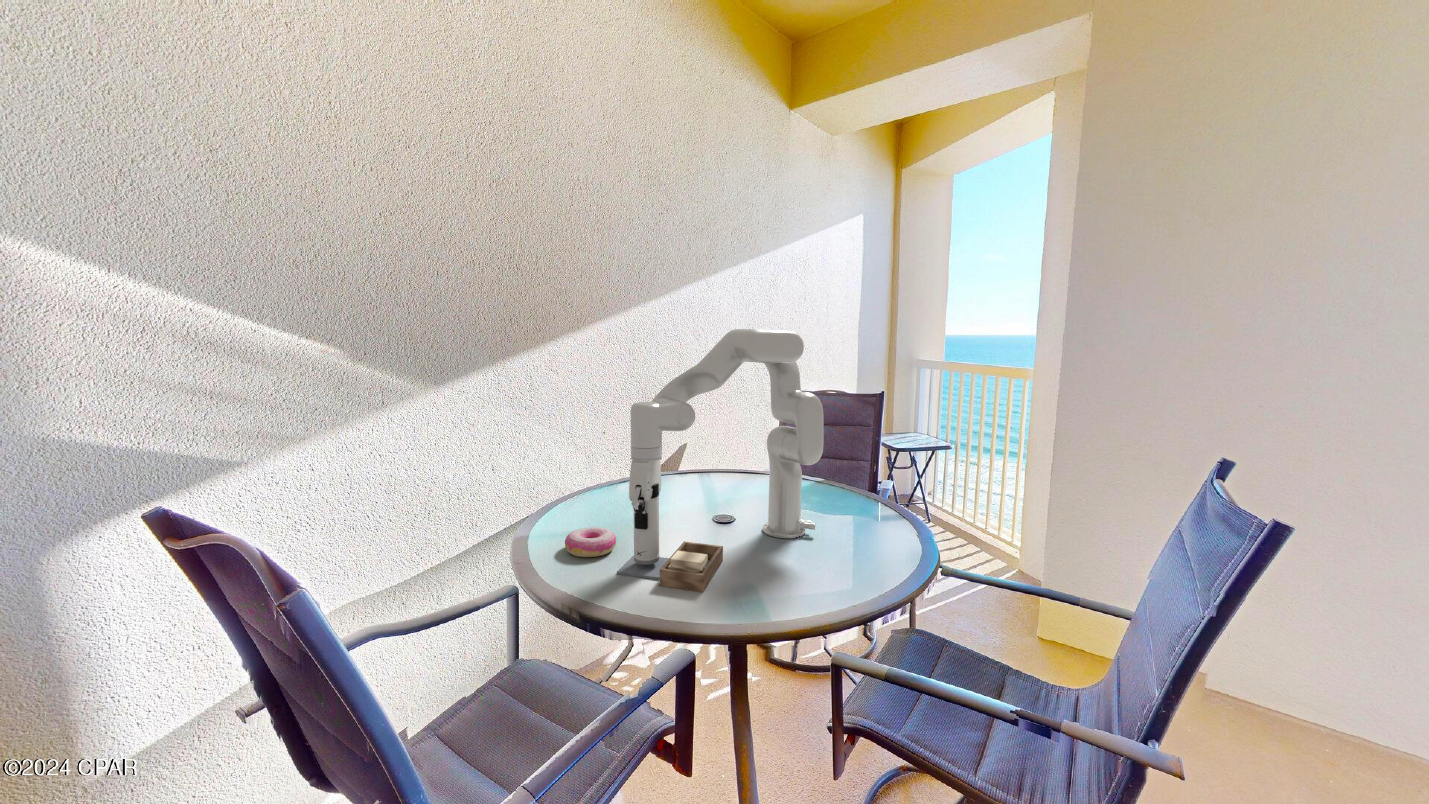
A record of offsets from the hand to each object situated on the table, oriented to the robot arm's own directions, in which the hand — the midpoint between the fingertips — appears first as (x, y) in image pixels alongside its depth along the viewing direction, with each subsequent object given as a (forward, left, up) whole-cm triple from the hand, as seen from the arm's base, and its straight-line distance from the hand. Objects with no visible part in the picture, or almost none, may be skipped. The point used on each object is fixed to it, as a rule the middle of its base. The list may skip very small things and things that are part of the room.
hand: (646, 523), depth 133 cm
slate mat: (0, 0, -12) cm, 12 cm away
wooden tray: (-12, 0, -12) cm, 17 cm away
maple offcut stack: (-12, +4, -12) cm, 17 cm away
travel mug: (0, 0, -10) cm, 10 cm away
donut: (+18, -5, -12) cm, 23 cm away
